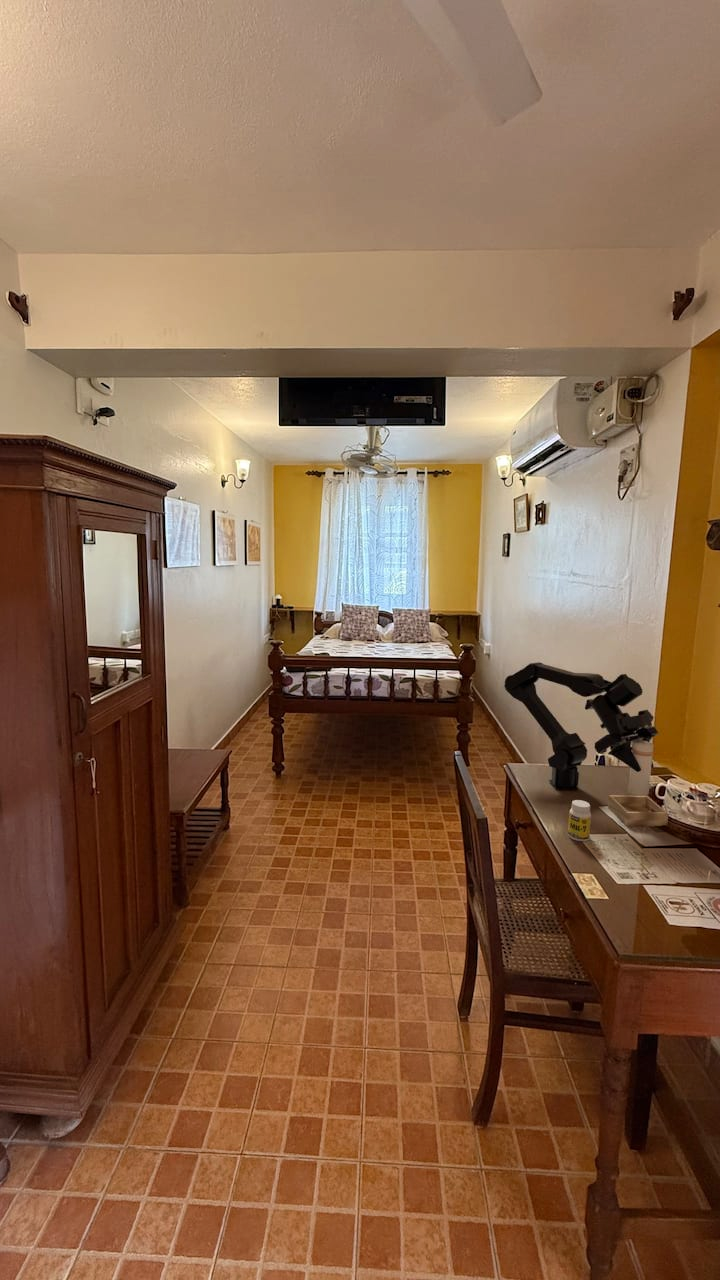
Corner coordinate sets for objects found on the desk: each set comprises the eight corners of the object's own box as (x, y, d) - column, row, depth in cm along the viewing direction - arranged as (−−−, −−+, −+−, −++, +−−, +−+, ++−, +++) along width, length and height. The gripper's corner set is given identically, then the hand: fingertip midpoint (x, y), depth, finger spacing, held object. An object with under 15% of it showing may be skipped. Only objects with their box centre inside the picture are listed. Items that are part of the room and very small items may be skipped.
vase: (635, 796, 137) (640, 746, 135) (624, 788, 142) (628, 740, 140) (652, 795, 138) (657, 746, 136) (640, 787, 142) (645, 740, 141)
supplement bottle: (566, 838, 129) (568, 805, 128) (569, 830, 133) (571, 797, 132) (588, 843, 127) (590, 809, 126) (590, 835, 131) (592, 801, 130)
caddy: (625, 826, 136) (626, 812, 135) (607, 807, 146) (608, 795, 145) (667, 826, 136) (668, 813, 135) (646, 808, 146) (647, 796, 145)
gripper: (608, 704, 135) (645, 761, 127) (655, 696, 144) (692, 749, 136) (579, 725, 143) (613, 781, 135) (625, 717, 152) (659, 768, 144)
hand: (645, 769), depth 138 cm, fingers closed on vase, 5 cm apart
